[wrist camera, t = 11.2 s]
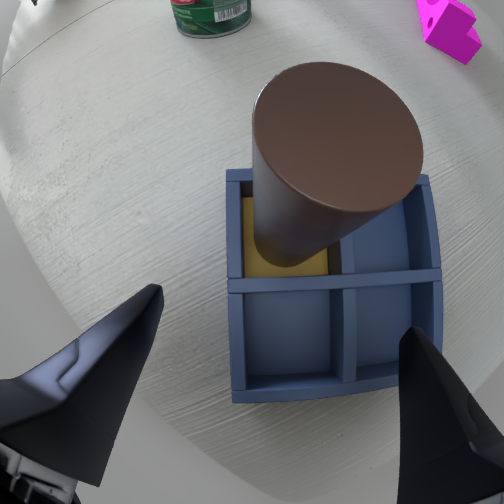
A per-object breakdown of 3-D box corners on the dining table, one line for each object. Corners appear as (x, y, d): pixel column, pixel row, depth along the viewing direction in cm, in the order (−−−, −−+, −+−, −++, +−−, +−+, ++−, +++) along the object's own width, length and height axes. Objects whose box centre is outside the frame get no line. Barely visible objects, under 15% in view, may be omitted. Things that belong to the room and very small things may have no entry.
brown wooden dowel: (317, 266, 18) (439, 214, 5) (254, 268, 18) (255, 214, 5) (313, 205, 19) (399, 72, 6) (252, 206, 19) (248, 58, 6)
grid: (414, 364, 18) (440, 375, 14) (236, 384, 18) (231, 403, 14) (405, 190, 20) (428, 174, 16) (230, 189, 20) (225, 168, 16)
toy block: (465, 65, 22) (493, 31, 15) (425, 41, 22) (449, 2, 15) (449, 13, 24) (466, -15, 16) (415, -5, 24) (429, -36, 17)
